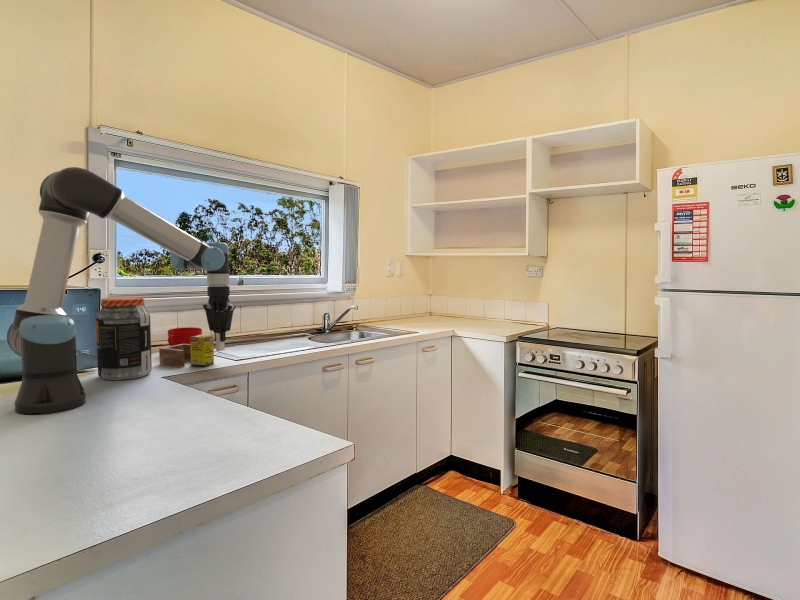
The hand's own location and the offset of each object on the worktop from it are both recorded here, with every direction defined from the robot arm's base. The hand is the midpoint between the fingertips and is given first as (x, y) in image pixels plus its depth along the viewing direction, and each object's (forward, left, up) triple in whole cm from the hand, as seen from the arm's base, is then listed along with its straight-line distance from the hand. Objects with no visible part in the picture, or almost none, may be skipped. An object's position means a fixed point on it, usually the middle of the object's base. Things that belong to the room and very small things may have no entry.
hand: (220, 350), depth 176 cm
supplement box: (0, +8, -6) cm, 10 cm away
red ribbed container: (+12, +30, -6) cm, 33 cm away
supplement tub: (-24, +19, -6) cm, 31 cm away
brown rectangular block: (0, +18, -6) cm, 19 cm away
